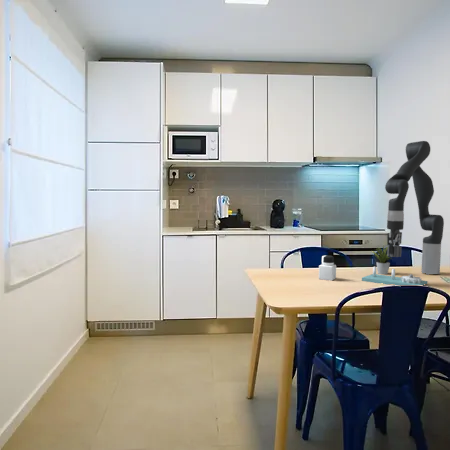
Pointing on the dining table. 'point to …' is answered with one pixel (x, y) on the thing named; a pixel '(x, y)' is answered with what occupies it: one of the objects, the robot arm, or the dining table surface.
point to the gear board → (394, 279)
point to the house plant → (382, 261)
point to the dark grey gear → (395, 251)
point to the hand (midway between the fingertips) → (394, 253)
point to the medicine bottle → (327, 268)
